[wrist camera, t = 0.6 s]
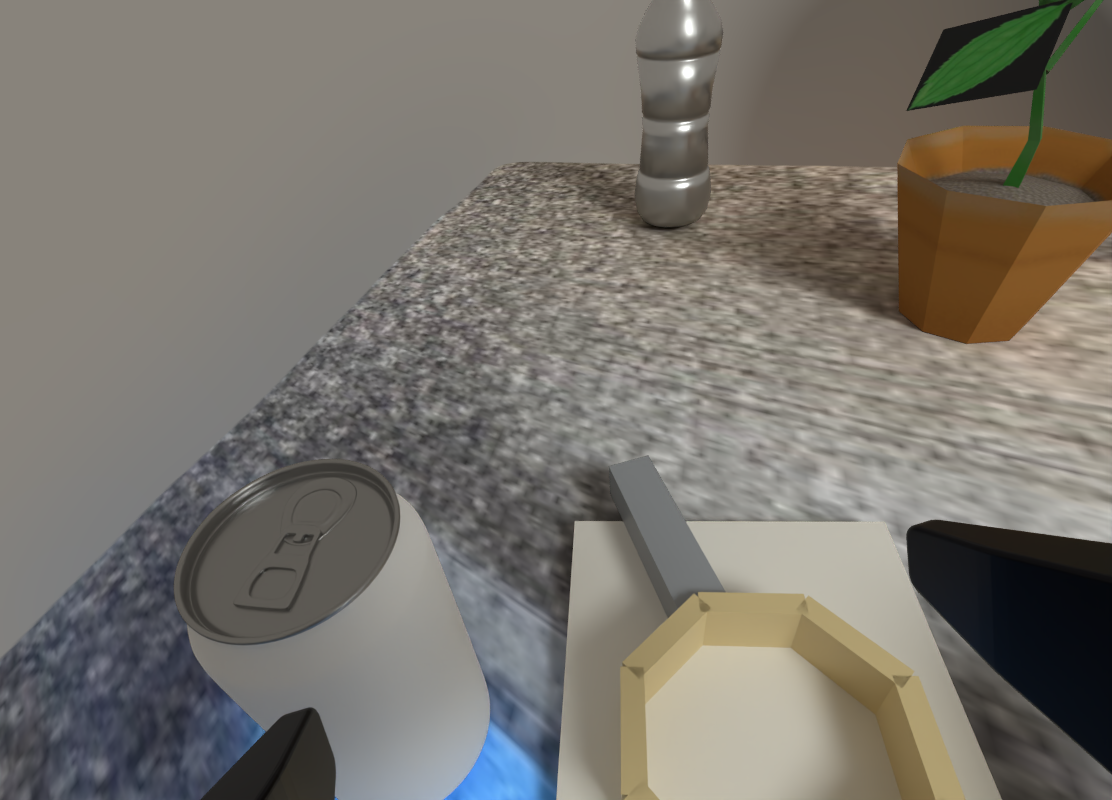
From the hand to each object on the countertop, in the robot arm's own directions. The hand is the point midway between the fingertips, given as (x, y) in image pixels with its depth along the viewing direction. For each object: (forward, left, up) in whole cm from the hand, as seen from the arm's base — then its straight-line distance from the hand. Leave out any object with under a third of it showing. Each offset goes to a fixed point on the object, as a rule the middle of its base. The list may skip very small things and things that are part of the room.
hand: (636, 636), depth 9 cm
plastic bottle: (+48, -4, -16) cm, 51 cm away
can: (+4, +9, -16) cm, 19 cm away
